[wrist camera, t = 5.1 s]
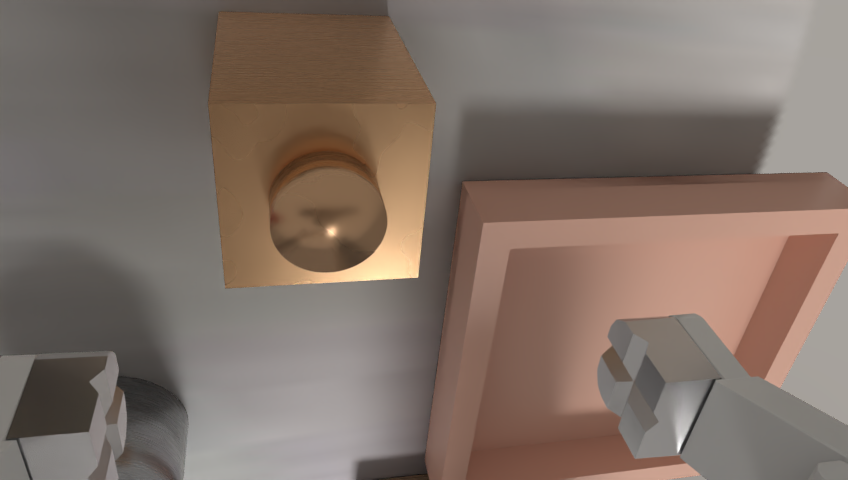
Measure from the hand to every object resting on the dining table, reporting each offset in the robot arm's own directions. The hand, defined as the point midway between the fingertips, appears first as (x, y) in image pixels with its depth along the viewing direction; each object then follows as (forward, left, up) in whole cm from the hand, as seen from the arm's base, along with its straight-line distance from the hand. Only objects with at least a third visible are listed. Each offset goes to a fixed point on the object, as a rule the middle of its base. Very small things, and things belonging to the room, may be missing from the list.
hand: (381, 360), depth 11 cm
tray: (-10, -11, -11) cm, 19 cm away
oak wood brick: (0, +1, -11) cm, 11 cm away
